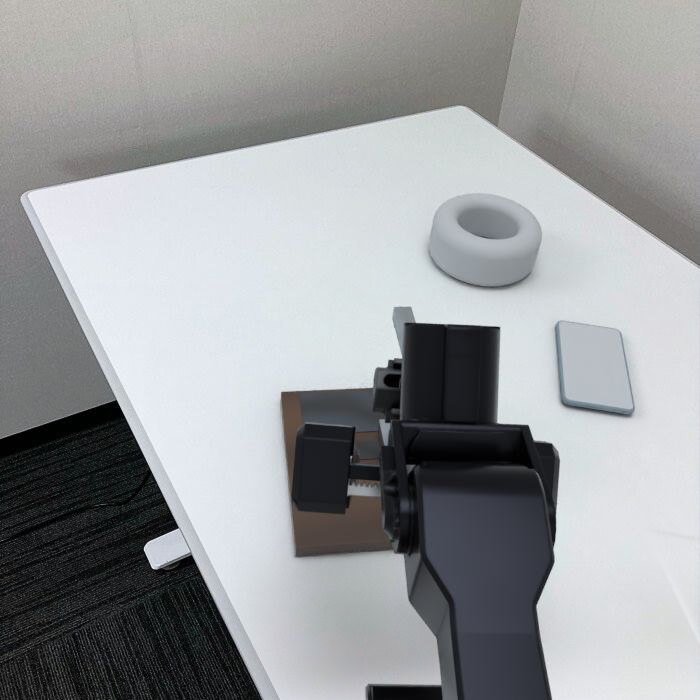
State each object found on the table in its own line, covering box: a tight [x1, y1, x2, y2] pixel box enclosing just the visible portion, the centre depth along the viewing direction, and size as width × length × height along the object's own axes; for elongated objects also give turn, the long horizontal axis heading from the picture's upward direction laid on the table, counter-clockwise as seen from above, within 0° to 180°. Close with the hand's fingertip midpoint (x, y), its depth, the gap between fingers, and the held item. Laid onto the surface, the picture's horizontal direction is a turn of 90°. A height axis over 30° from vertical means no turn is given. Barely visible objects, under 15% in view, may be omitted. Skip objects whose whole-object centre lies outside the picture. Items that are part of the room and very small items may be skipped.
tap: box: [378, 306, 417, 446], centre depth 78 cm, size 11×4×13 cm, turn 8°
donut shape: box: [428, 192, 543, 287], centre depth 107 cm, size 15×15×7 cm
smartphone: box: [555, 320, 636, 415], centre depth 94 cm, size 8×1×15 cm
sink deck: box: [280, 387, 393, 558], centre depth 80 cm, size 20×20×2 cm
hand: (412, 462), depth 64 cm, fingers open, 9 cm apart
